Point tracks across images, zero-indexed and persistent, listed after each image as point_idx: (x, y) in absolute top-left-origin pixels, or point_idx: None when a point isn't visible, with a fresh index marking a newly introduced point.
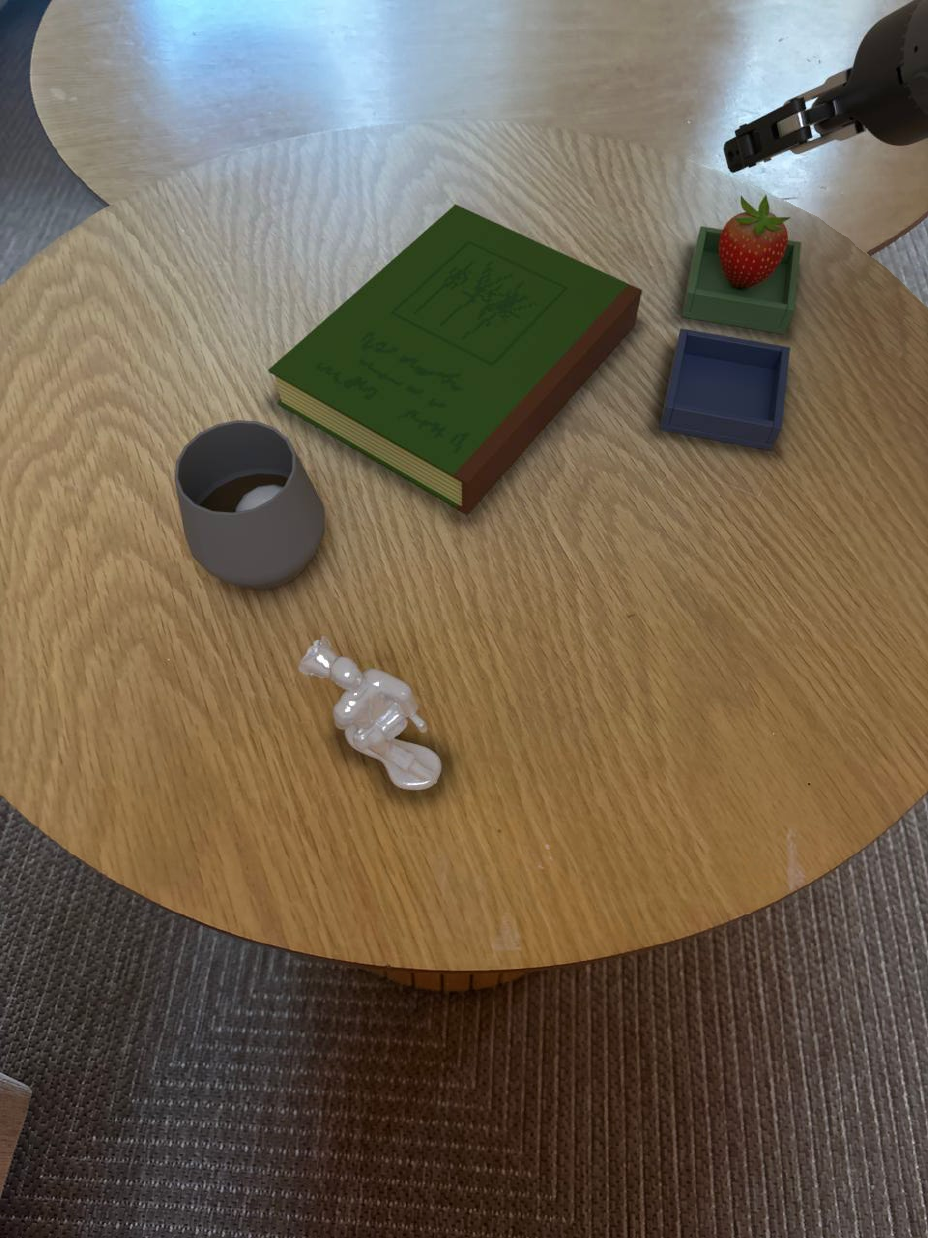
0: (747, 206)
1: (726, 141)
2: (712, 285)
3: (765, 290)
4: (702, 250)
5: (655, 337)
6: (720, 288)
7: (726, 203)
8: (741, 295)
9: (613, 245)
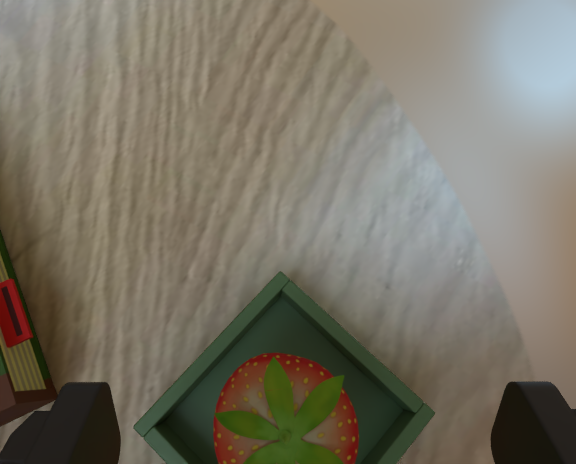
0: (278, 386)
1: (62, 390)
2: None
3: None
4: (238, 334)
5: None
6: None
7: (407, 204)
8: None
9: (164, 200)
